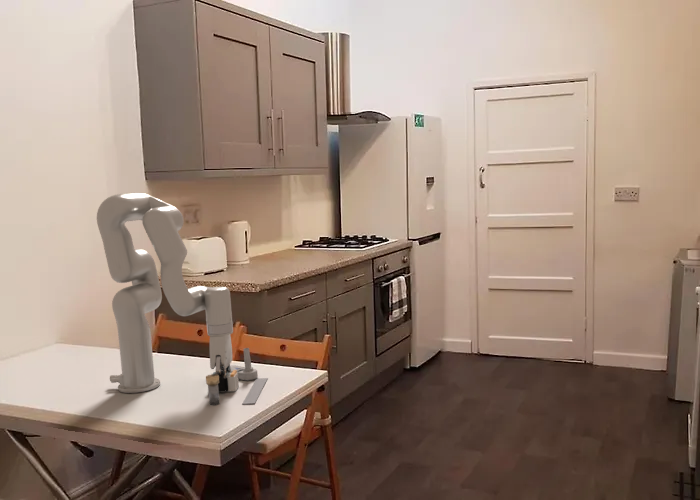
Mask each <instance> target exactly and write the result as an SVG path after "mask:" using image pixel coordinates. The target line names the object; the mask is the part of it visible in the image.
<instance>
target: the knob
mask: <svg viewBox="0 0 700 500" xmlns="http://www.w3.org/2000/svg"><path fill="white" fill-rule="evenodd" d="M211 374H212V375H211ZM211 374H207V375H206V376H205V382H206V383H205V384H206V386H207V390H208V392H207V393H208V400H209V401H208V403H209V406H217V405H221V404H220V392H219V390H218V383H219V375H217V374H213V373H211Z"/></svg>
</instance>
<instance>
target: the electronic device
mask: <svg viewBox="0 0 700 500" xmlns="http://www.w3.org/2000/svg"><path fill="white" fill-rule="evenodd" d="M250 353H251V352H250V347H244V348H243V356H244V357H243V360H244V361H243V362H244V366H241V365H235V364H233V365H232V364H230V367H231V372H229V373H232V372H233V370H237V372H238V380H242V381H252V380H256V379H258V377H259V375H258V374H259V373H258V370H257V369H256V368H254V367H252V361H251V356H250V355H251V354H250Z"/></svg>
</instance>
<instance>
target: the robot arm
mask: <svg viewBox="0 0 700 500" xmlns="http://www.w3.org/2000/svg"><path fill="white" fill-rule="evenodd" d="M184 219H185V218H184V216H183V213H182V212H181V211H180V209H178V208H177V207H176V206H174V205H172V204H170V203H167V202H165V201H163V200H161V199H159V198H156V197H155V196H152V195H150V194H147V193H145V192H144V193H142V192H133V193H132V192H131V193H130V192H129V193H128V192H126V193H117V194H114V195H111V196H109V197H106V199H104V200H103V201H102V202H101V204H100V205H99V207H98V209H97V212H96V223H97V227H98V230H99V231H98V232H99V234H100V237H101V239H102V244H103V250H104V254H105V258H106V263H107V266H108V267H107V268H108V271H109V274H110V277H111V278H112V280H113V281H114V282H116V283H119V284H125V283H131V284H132V285H129V286H126V287H124V288H121V289H120V290H118V291H117V292H116V293H115V294H114V296H113V298H112V300H111V301H112V303H111V308H112V312H113V315H114V319H115V322H116V327H117V336H118V345H119V346H118V347H119V355H120V356H119V357H120V366H121V373H120V374H118V375H117V374H111V375H109V381H110V383H112V384H113V383H114V384H115V383H116V384H117V383H118V386H117V390H118V391H119V392H121V393H125V394H136V393H137V394H138V393H142V392H148V391H152V390H154V389H156V388H158V387H159V386H160V385H161V380H160V379H159V378H157V377H155V367H154V359H153V345H152V336H151V335H152V333H151V329H150V328H151V327H150V324H149V322H148V321H149V320H148V318H147V316H146V314H147V313H150V312H151V313H152V312H154V311H155V310H157V309H158V308H159V306H160V305H161V303H162V299H163V295H162V294H164V296H165V298H166V299H167V302H168V303H169V306H170V307H171V309H172V310H173V311H174V313H176V314H177V315H178V316H181V317H188V316H191V315H194V314H196V313H199V312H202V311H204V310H205V321H206V331H207V333H206V334H207V336H209V365H210V369H211V370H214V369H215V372H216V374H217V375H219V383H218V390H219V393H226V391H228V378H226V371H228V372H231V367H230V366H231V363H232V362H233V346H232V337H231V335H233V333H234V325H233V323H234V322H233V313H232V299H231V291H230V289H229V288H228V287H226V286H214V287H213V286H212V287H211V286H203V285H194V286H192V287H189V288H188V286H187V284H186V282H185V279H184V277H183V264H184V262H185V259H186V257H187V255H188V249H187V248H186V245H185V243H184V241H183V238H182V237H181V235H180V233H179V232H180V230H182V228H183V226H184ZM133 221H135V222H136V221H142V226H143V229H144V230H145V233H146V234H147V237H148V238H149V241H150V243H151V245H152V247H153V250H154V252H155V253H156V256H157V258H158V260H159V263H160V278H159V274H158V270H157V265H156V262H155V260H154V258H153V256H152V255H151V254H150V253H149V252H148V251H147V250H146V249H145V250H144V249H143V248H135V247H134V243H133V238H132V234H131V232H130V230H129V229H128V228H127V226H126V225H125V224H126V223H128V222H133ZM159 279H160V280H159ZM160 283H161V284H160ZM162 291H163V293H162ZM223 371H224V373H223Z"/></svg>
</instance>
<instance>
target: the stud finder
mask: <svg viewBox="0 0 700 500" xmlns="http://www.w3.org/2000/svg"><path fill="white" fill-rule="evenodd" d="M223 373H224V371H223ZM212 374H216V371H213V373H211V374H210V375H212ZM226 378H228V391H226V392H227V393H228V392H236V391H237V390H238V389H239V387H240V385H239V379H238V372H237V370H233V372H232V373H229V372H228V371H226ZM226 392H225V393H226Z"/></svg>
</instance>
